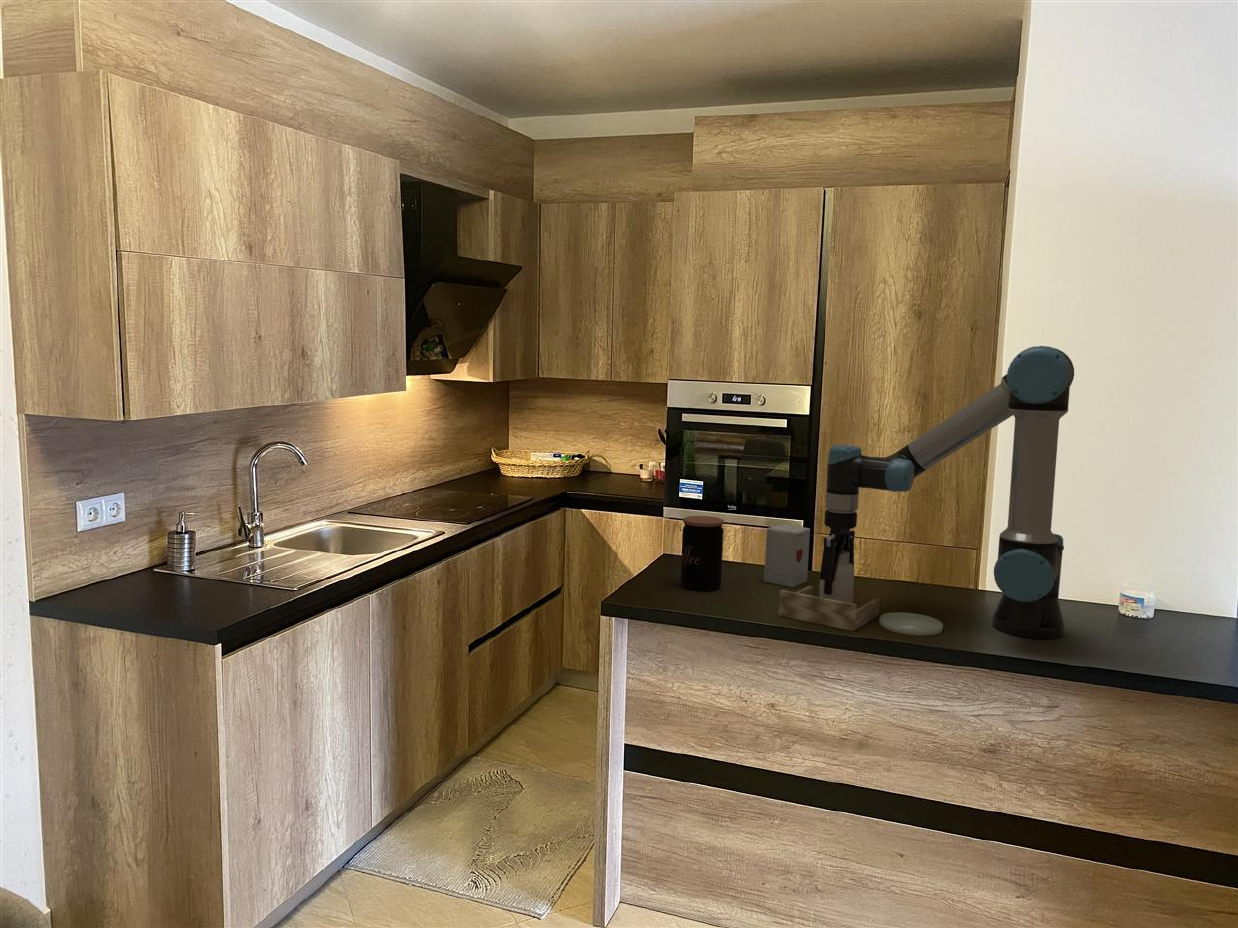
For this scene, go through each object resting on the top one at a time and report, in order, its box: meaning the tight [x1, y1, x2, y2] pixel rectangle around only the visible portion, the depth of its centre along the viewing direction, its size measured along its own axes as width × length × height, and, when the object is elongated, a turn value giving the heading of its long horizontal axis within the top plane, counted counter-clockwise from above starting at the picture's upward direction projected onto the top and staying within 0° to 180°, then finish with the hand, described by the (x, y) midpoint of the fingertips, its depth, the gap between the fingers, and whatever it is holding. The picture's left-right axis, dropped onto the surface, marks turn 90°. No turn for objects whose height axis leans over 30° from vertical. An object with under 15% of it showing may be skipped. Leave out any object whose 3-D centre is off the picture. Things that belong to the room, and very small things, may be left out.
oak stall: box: [778, 585, 881, 632], centre depth 219 cm, size 18×16×6 cm
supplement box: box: [763, 523, 811, 588], centre depth 249 cm, size 9×9×15 cm
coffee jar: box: [680, 515, 725, 592], centre depth 241 cm, size 11×11×18 cm
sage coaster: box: [878, 611, 944, 637], centre depth 212 cm, size 14×14×1 cm
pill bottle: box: [818, 550, 855, 604], centre depth 221 cm, size 8×8×15 cm
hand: (835, 603), depth 222 cm, fingers closed on pill bottle, 8 cm apart
